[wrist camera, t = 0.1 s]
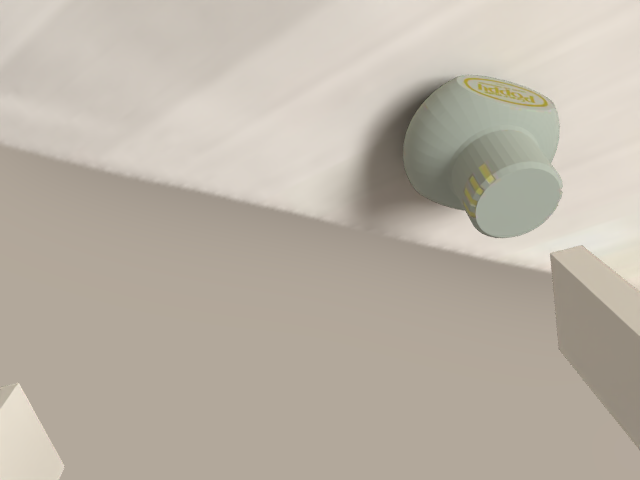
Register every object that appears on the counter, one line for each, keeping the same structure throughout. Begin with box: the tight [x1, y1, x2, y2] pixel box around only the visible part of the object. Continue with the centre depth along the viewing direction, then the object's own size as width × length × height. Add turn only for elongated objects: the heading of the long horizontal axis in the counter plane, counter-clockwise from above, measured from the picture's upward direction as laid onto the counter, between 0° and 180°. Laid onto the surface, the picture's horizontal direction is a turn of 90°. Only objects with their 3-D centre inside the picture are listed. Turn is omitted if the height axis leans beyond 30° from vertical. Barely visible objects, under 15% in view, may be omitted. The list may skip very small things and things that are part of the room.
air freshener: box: [403, 75, 563, 238], centre depth 39 cm, size 11×8×10 cm
